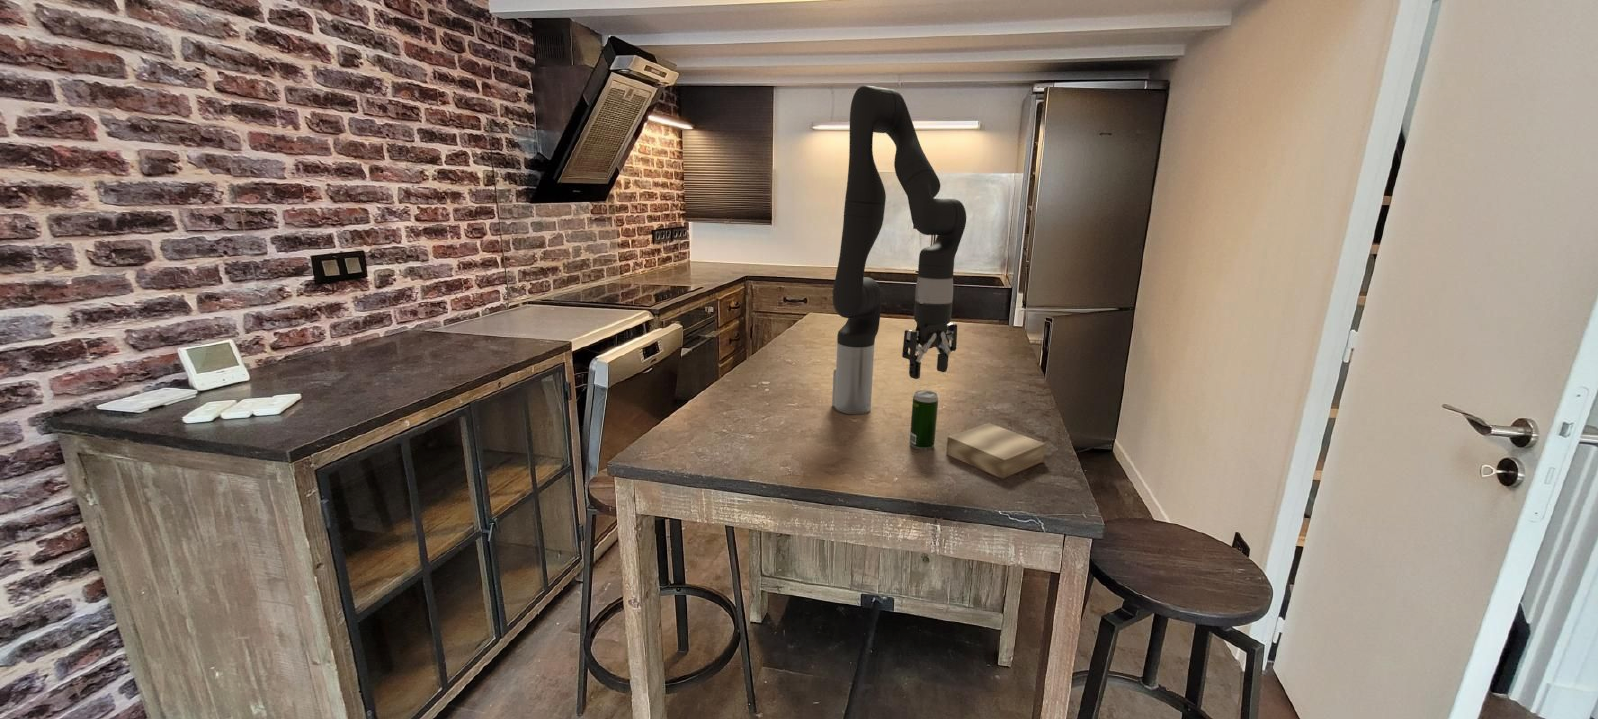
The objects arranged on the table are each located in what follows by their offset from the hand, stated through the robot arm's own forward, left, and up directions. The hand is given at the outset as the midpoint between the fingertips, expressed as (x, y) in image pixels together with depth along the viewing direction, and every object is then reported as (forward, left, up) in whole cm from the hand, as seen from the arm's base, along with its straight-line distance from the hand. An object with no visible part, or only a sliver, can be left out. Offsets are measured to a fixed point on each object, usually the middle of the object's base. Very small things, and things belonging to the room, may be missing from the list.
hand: (928, 374), depth 130 cm
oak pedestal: (+13, +8, -16) cm, 22 cm away
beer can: (0, 0, -17) cm, 17 cm away
